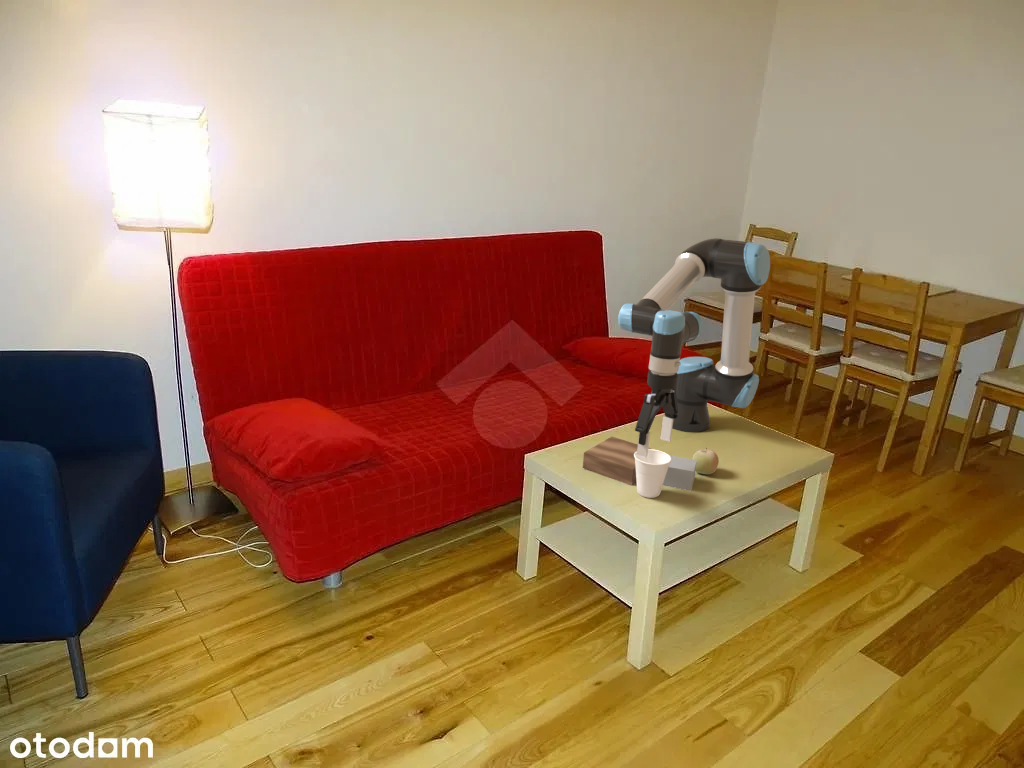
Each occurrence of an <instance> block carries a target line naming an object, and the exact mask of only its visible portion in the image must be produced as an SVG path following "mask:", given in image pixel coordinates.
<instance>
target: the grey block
mask: <svg viewBox="0 0 1024 768" xmlns="http://www.w3.org/2000/svg"><path fill="white" fill-rule="evenodd" d="M668 455H669V456H670V457H671V462H670V463H669V467H668V470H667V473H666V476H665V479H664V482H663V485H664V486H665V487H669V486H670V487H669V488H674V487H676V489H679V488H681V489H680V490H684V489H686V490H685V491H690V490H691V491H692V489H693V486H694V481H695V476H696V471H695V470H696V463H697V460H693V459H692V458H687V457H680V456H676V455H670V454H668ZM663 485H662V486H663ZM692 485H693V486H692Z"/></svg>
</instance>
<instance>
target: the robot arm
mask: <svg viewBox="0 0 1024 768" xmlns="http://www.w3.org/2000/svg"><path fill="white" fill-rule="evenodd" d="M770 271H771V256H770V253H769V250H768V248H767V247H766V246H765V245H764V244H761V243H755V242H752V241H742V240H732V239H724V238H708V239H704V240H702V241H698V242H696V243H694V244H693V245H691V246H689V247H687V248H686V249H684V250H683V251H682V252H681V253H680V254H679V255H678V256H677V257H676V259H675V261H674V264H673V266H672V267H671V268H670V269H669V270H668V271H667V272H666V273H665V274H664V275H663V276H662V278H660V279H659V280H658V282H656V283H655V284H654V286H653V287H652V288H651V289H650V290H649V291H648V292H647V293H646V294H645V295H644V296H643V297H642V298H641V299H640V300H639V302H637V303H636V304H635V303H624V304H623V305H622V306H621V308H620V309H619V313H618V315H617V320H618V323H617V324H618V326H619V328H620V329H621V330H624V331H628V332H630V333H634V334H639V335H645V336H649V337H651V347H650V354H649V363H648V372H647V380H646V384H647V385H648V386H649V387H650V388H651V392H650V393H645V394H644V399H643V403H642V406H641V409H640V413H639V416H638V418H637V419H638V420H637V422H636V424H635V428H634V431H635V432H638V439H637V444H638V448H637V454H638V455H641V456H644V457H647V456H648V448H650V439H651V438H650V437H651V432H650V429H651V428H652V425H653V422H654V421H655V418H656V415H657V414H658V412H660V411H661V409H662V411H663V414H664V416H662V423H661V430H660V431H661V432H660V440H662V441H664V442H668V443H670V442H671V441H672V432H673V429H675V430H677V431H682V432H683V431H684V432H689V433H690V432H691V433H695V432H697V433H699V432H704V431H706V430H708V429H709V428H710V424H711V418H710V414H709V413H710V411H709V407H708V401H710V402H715V403H719V404H723V405H727V406H731V407H732V408H734V407H735V408H739V409H745V408H746V407H748V406H749V405H750V404H751V402H752V401H753V399H754V397H755V395H756V392H757V390H758V386H759V382H760V378H759V375H758V374H756V373H754V366H753V364H752V363H751V362H750V353H751V341H752V331H753V319H754V317H753V316H754V308H755V299H756V297H755V295H756V293H757V292H758V291H759V290H761V287H762V285H765V284H766V283H767V281H768V278H769V273H770ZM705 277H706V278H713V279H714V278H715V279H719V280H720V288H721V289H722V290H723V291H724V292H725V293H724V307H723V308H724V309H723V322H722V323H723V324H722V335H721V336H722V337H721V351H720V353H721V354H720V360H719V361H717V363H715V365H714V360H713V359H712V358H710V357H706V356H687V357H684V358H683V357H682V358H681V355H682V347H683V345H684V344H687V343H689V342H692V341H694V340H696V339H697V338H698V337H700V336H701V334H702V333H703V331H704V320H703V318H702V317H701V316H700V314H698V313H697V312H695V311H683V312H681V311H678V310H671V307H672V306H673V305H674V304H675V303H676V302H677V301H678V300H679V299H680V297H682V295H683V294H684V293H685V292H686V291H687V290H688V289H689V288H690V287H691V285H693V283H696V282H699V281H701V280H702V279H703V278H705Z"/></svg>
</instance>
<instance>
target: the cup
mask: <svg viewBox="0 0 1024 768" xmlns="http://www.w3.org/2000/svg"><path fill="white" fill-rule="evenodd" d="M669 455H670V454H668V453H666V452H664V451H662V450H658V449H653V448H651V449H648V456H647V457H644V456H641V455H638V454H637V451H636V452H635V453H634V457H635V467H636V480H637V482H636V491H637V493H638V495H639V496H641V497H644V498H648V499H655V498H657V497H659V496H660V495H661V492H662V489H663V482H664V479H665V476H666V473H667V470H668V467H669V463H670V462H671V457H670V456H671V455H670V456H669Z"/></svg>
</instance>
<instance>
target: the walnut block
mask: <svg viewBox="0 0 1024 768" xmlns="http://www.w3.org/2000/svg"><path fill="white" fill-rule="evenodd" d="M637 448H638V443H634V442H630V441H629V440H624V439H623V438H622V439H621V438H617V437H615V436H610V437H609V438H606V439H604V440H603V441H601V442H600V443H598V444H596V445H595V446H592V447H591V448H590V449H588V450H586V451H584V452H583V461H582V469H583V468H584V470H586V469H587V471H589V472H592V473H595V474H598V475H600V476H604V477H607V478H608V479H609V478H610V479H613V480H615V481H618V482H621V483H624V484H627V485H628V486H629V485H630V486H633V485H634V484H635V483H637V480H636V467H635V457H634V453H635V452H636V451H637ZM648 449H652V448H650V447H649V448H648Z"/></svg>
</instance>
